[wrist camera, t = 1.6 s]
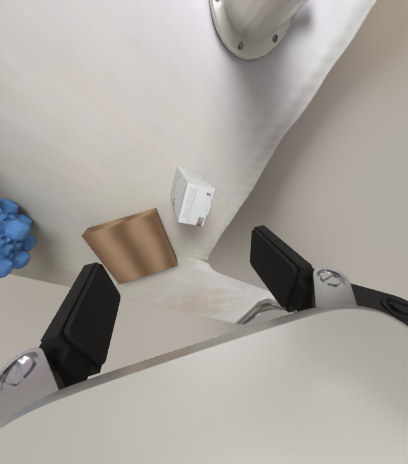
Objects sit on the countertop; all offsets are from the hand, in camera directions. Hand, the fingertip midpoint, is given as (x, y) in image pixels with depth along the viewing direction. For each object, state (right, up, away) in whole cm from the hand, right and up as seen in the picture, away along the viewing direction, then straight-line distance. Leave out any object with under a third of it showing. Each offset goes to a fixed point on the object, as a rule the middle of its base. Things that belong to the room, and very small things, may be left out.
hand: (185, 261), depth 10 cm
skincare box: (-3, +12, +22) cm, 25 cm away
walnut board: (-14, -1, +26) cm, 30 cm away
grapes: (-30, +5, +19) cm, 36 cm away
